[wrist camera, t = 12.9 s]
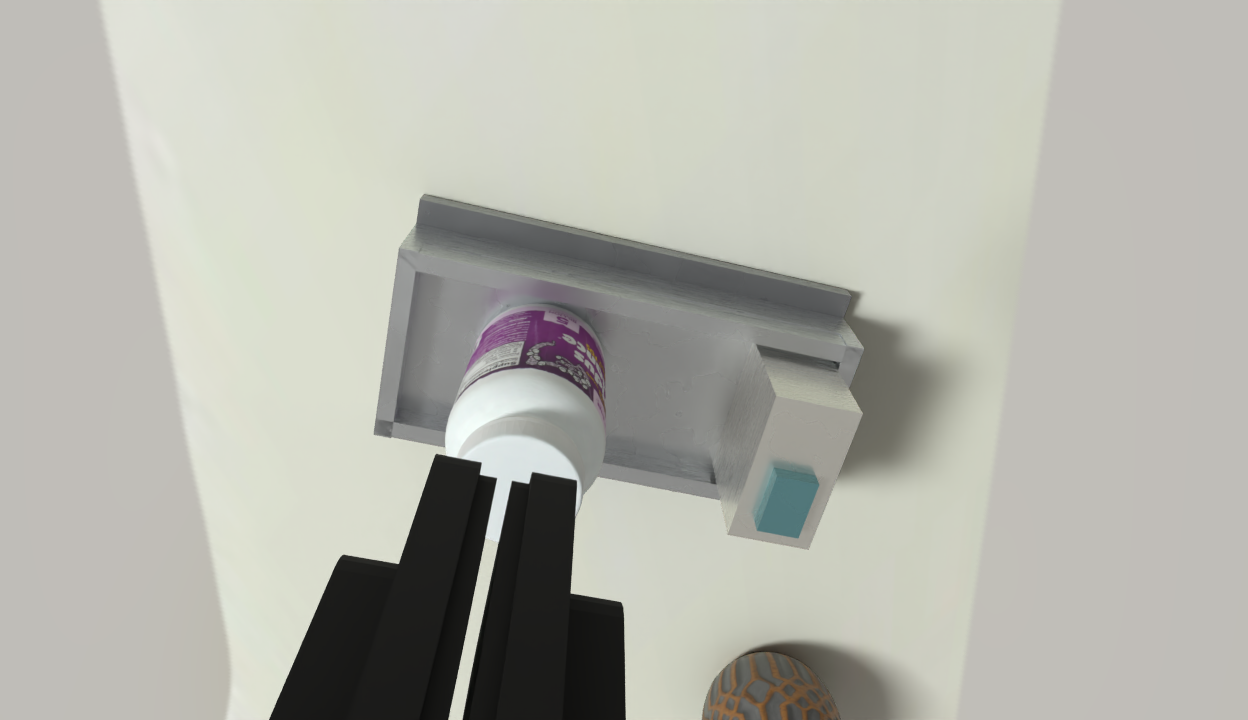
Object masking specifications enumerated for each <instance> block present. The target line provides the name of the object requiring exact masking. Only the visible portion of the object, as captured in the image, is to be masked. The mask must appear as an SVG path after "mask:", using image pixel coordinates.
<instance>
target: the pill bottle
mask: <svg viewBox="0 0 1248 720" xmlns="http://www.w3.org/2000/svg"><path fill="white" fill-rule="evenodd" d="M605 381H606V375H605V359H604V354H603V350H602V347H601V344H600V342H599V340H598V338H597V336H596V334H595V333H594V331H593V330H592V329H591V327H590V326H589V325H588V324H587V323H586V322H585V321H583V320H582V319H581V318H580V317H579V316H577V315H576V314H574V313H572V312H570V311H568V310H566V309H563V308H560V307H557V306H554V305H549V304H539V303H536V304H526V305H521V306H517V307H513V308H510V309H508V310H507V311H505V312H503V313H501V314H499V315H498V316H497V317H495V318H494V319H493V320H492V321H491V322H490V323H489V324H488V325H487V326H486V327H485V328H484V330H483V331H482V332H481V334H480V336H479V338H478V339H477V342H476V344H475V347H474V349H473V352H472V355H471V358H470V361H469V364H468V366H467V369H466V372H465V375H464V378H463V380H462V383H461V386H460V388H459V391H458V394H457V397H456V400H455V402H454V405H453V408H452V410H451V412H450V415H449V418H448V423H447V426H446V434H445V448H446V455H447V456H450V457H455V458H461V459H466V460H471V461H477V462H482V465H481V471H480V475H484V476H490V477H495V478H497V482H496V487H495V492H494V497H493V502H492V507H491V512H490V517H489V522H488V527H487V532H486V536H485V538H487V539H489V540H492V541H495V542H498V543H499V539H500V534H501V529H502V525H503V520H504V515H505V511H506V506H507V501H508V496H509V492H510V487H511V483H512V481H517V482H522V483H527V484H529V482H530V478H531V474H532V472H536V473H541V474H546V475H552V476H557V477H563V478H568V479H573V480H577V496H576V512H575V517H576V516H577V513H578V511H579V509H580V506H581V503H582V498H583V494H584V493H585V492H586V491H587V490H588V489H589V488H590V487H591V485H592V484H593V482H594V481H595V479H596V478H597V476H598V474H599V472H600V469H601V467H602V463H603V459H604V454H605V447H606V387H605Z"/></svg>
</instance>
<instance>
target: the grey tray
mask: <svg viewBox="0 0 1248 720" xmlns="http://www.w3.org/2000/svg"><path fill="white" fill-rule="evenodd" d="M851 297H852V296H851V295H850V293H849V292H848V291H847V290H846V289H842V288H837V287H833V286H828V285H824V284H819V283H815V282H811V281H806V280H802V279H797V278H793V277H788V276H784V275H780V274H775V273H771V272H766V271H762V270H757V269H753V268H749V267H744V266H740V265H735V264H731V263H726V262H722V261H718V260H713V259H709V258H704V257H700V256H695V255H691V254H687V253H682V252H678V251H673V250H669V249H664V248H660V247H655V246H651V245H647V244H642V243H638V242H633V241H629V240H624V239H620V238H616V237H611V236H607V235H602V234H598V233H593V232H589V231H585V230H580V229H576V228H571V227H567V226H562V225H558V224H554V223H549V222H545V221H540V220H536V219H531V218H527V217H523V216H518V215H514V214H509V213H505V212H500V211H496V210H491V209H487V208H483V207H478V206H474V205H469V204H465V203H460V202H456V201H452V200H447V199H443V198H438V197H434V196H429V195H425V194H424V195H423V196H422V197H421V198H420V202H419V209H418V216H417V223H416V225H415V226H414V228H413V229H412V230H411V232H410V233H409V235H408V236H407V237H406V239H405V240H404V242H403V243H402V244H401V246H400V247H399V252H398V259H397V267H396V274H395V281H394V289H393V296H392V303H391V311H390V318H389V325H388V333H387V340H386V347H385V355H384V362H383V369H382V377H381V384H380V392H379V399H378V406H377V414H376V421H375V428H374V435H377V436H383V437H388V438H391V437H394V438H399V439H404V440H409V441H414V442H420V443H425V444H430V445H435V446H440V447H445V434H446V426H447V423H448V418H449V415H450V412H451V410H452V408H453V405H454V402H455V400H456V397H457V394H458V391H459V388H460V386H461V383H462V380H463V378H464V375H465V372H466V369H467V366H468V364H469V361H470V358H471V355H472V352H473V349H474V347H475V344H476V342H477V339H478V338H479V336H480V334H481V332H482V331H483V330H484V328H485V327H486V326H487V325H488V324H489V323H490V322H491V321H492V320H493V319H494V318H495V317H497V316H498V315H499V314H501V313H503V312H505V311H507V310H508V309H510V308H513V307H517V306H521V305H526V304H536V303H539V304H549V305H554V306H557V307H560V308H563V309H566V310H568V311H570V312H572V313H574V314H576V315H577V316H579V317H580V318H581V319H582V320H583V321H585V322H586V323H587V324H588V325H589V326H590V327H591V329H592V330H593V331H594V333H595V334H596V336H597V338H598V340H599V342H600V344H601V347H602V350H603V354H604V359H605V375H606V381H605V387H606V447H605V454H604V459H603V463H602V467H601V469H600V472H599V474H598V476H597V477H602V478H607V479H613V480H618V481H623V482H628V483H633V484H639V485H644V486H649V487H654V488H660V489H665V490H670V491H675V492H680V493H686V494H691V495H696V496H701V497H706V498H712V499H717V500H720V501H721V506H722V511H723V515H724V520H725V525H726V529H727V534H728V535H733V536H738V537H743V538H749V539H754V540H759V541H765V542H770V543H775V544H781V545H786V546H791V547H797V548H802V549H807V550H809V547H810V545H811V542H812V540H813V537H814V535H815V532H816V530H817V527H818V525H819V522H820V520H821V517H822V515H823V512H824V510H825V507H826V505H827V502H828V500H829V497H830V495H831V492H832V490H833V487H834V485H835V482H836V480H837V477H838V475H839V472H840V470H841V468H842V465H843V463H844V460H845V458H846V455H847V453H848V450H849V448H850V445H851V443H852V440H853V438H854V435H855V433H856V430H857V428H858V425H859V423H860V420H861V418H862V415H863V413H862V411H861V409H860V408H859V406H858V404H857V402H856V401H855V399H854V397H853V395H852V394H851V392H850V390H849V388H850V385H851V383H852V380H853V377H854V375H855V372H856V370H857V367H858V365H859V362H860V359H861V357H862V354H863V352H864V347H863V346H862V344H861V343H860V341H859V340H858V339H857V337H856V336H855V334H854V333H853V331H852V330H851V328H850V327H849V325H848V324H847V322H846V321H845V319H844V316H845V313H846V310H847V308H848V305H849V302H850V300H851Z"/></svg>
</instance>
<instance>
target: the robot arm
mask: <svg viewBox="0 0 1248 720" xmlns="http://www.w3.org/2000/svg"><path fill="white" fill-rule="evenodd" d="M481 465H482V462H477V461H471V460H466V459H461V458H455V457H450V456H444V455H439V454H436V455H435V458H434V460H433V463H432V466H431V469H430V472H429V475H428V478H427V481H426V484H425V487H424V490H423V493H422V496H421V499H420V502H419V505H418V508H417V511H416V514H415V517H414V520H413V523H412V526H411V529H410V532H409V535H408V538H407V541H406V544H405V547H404V550H403V553H402V556H401V559H400V562H399V564H395V563H389V562H383V561H377V560H371V559H365V558H359V557H354V556H348V555H342V556H341V557H340V559H339V560H338V562H337V564H336V566H335V568H334V570H333V573H332V575H331V577H330V580H329V582H328V584H327V586H326V589H325V591H324V593H323V596H322V598H321V600H320V603H319V605H318V607H317V610H316V612H315V614H314V617H313V619H312V621H311V624H310V626H309V628H308V631H307V633H306V635H305V638H304V640H303V642H302V645H301V647H300V649H299V652H298V654H297V656H296V658H295V661H294V663H293V665H292V668H291V670H290V672H289V675H288V677H287V679H286V682H285V684H284V686H283V689H282V691H281V693H280V696H279V698H278V700H277V703H276V705H275V707H274V710H273V712H272V714H271V717H270V719H269V720H448V718H449V713H450V708H451V704H452V699H453V694H454V689H455V684H456V679H457V674H458V670H459V665H460V660H461V655H462V650H463V645H464V640H465V635H466V630H467V625H468V620H469V615H470V611H471V606H472V601H473V596H474V591H475V586H476V581H477V576H478V571H479V566H480V561H481V556H482V551H483V546H484V541H485V536H486V532H487V527H488V522H489V517H490V512H491V507H492V502H493V497H494V492H495V487H496V482H497V478H495V477H490V476H484V475H480V471H481ZM576 496H577V480H573V479H568V478H563V477H557V476H552V475H546V474H541V473H536V472H532V474H531V478H530V482H529V484H527V483H522V482H517V481H512V483H511V487H510V492H509V496H508V501H507V506H506V511H505V515H504V520H503V525H502V529H501V534H500V539H499V544H498V548H497V553H496V558H495V562H494V567H493V572H492V577H491V581H490V586H489V591H488V595H487V600H486V605H485V610H484V614H483V619H482V624H481V628H480V633H479V638H478V643H477V647H476V652H475V657H474V662H473V667H472V672H471V678H470V683H469V688H468V694H467V699H466V704H465V710H464V715H463V720H626V711H625V649H624V612H623V606H622V603H621V602H617V601H611V600H605V599H599V598H594V597H588V596H582V595H576V594H570V591H571V575H572V559H573V543H574V528H575V512H576Z"/></svg>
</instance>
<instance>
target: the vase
mask: <svg viewBox="0 0 1248 720" xmlns="http://www.w3.org/2000/svg"><path fill="white" fill-rule="evenodd" d="M702 720H841V718H840V716H839V713H838V710H837V707H836V705H835V703H834V700H833V698H832V696H831V694H830V693H829V691H828V690H827V688H826V686H825V685H824V684H823V682H822V681H821V680H820V679H819V677H818V676H817V675H816V674H815V673H814V672H813V671H812V670H811V669H810V668H808V667H807V666H806V665H805V664H803V663H802V662H800V661H798V660H796V659H794V658H792V657H789V656H787V655H784V654H779V653H773V652H756V653H751V654H748V655H745V656H742V657H740V658H738V659H736V660H735V661H733V662H731V663H730V664H729V665H727V666H726V667H725V668H724V669H723V670H722V671H721V672H720V673H719V674H718V676H717V677H716V678H715V679H714V681H713V683H712V684H711V687H710V689H709V691H708V694H707V696H706V700H705V703H704V708H703V714H702Z"/></svg>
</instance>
